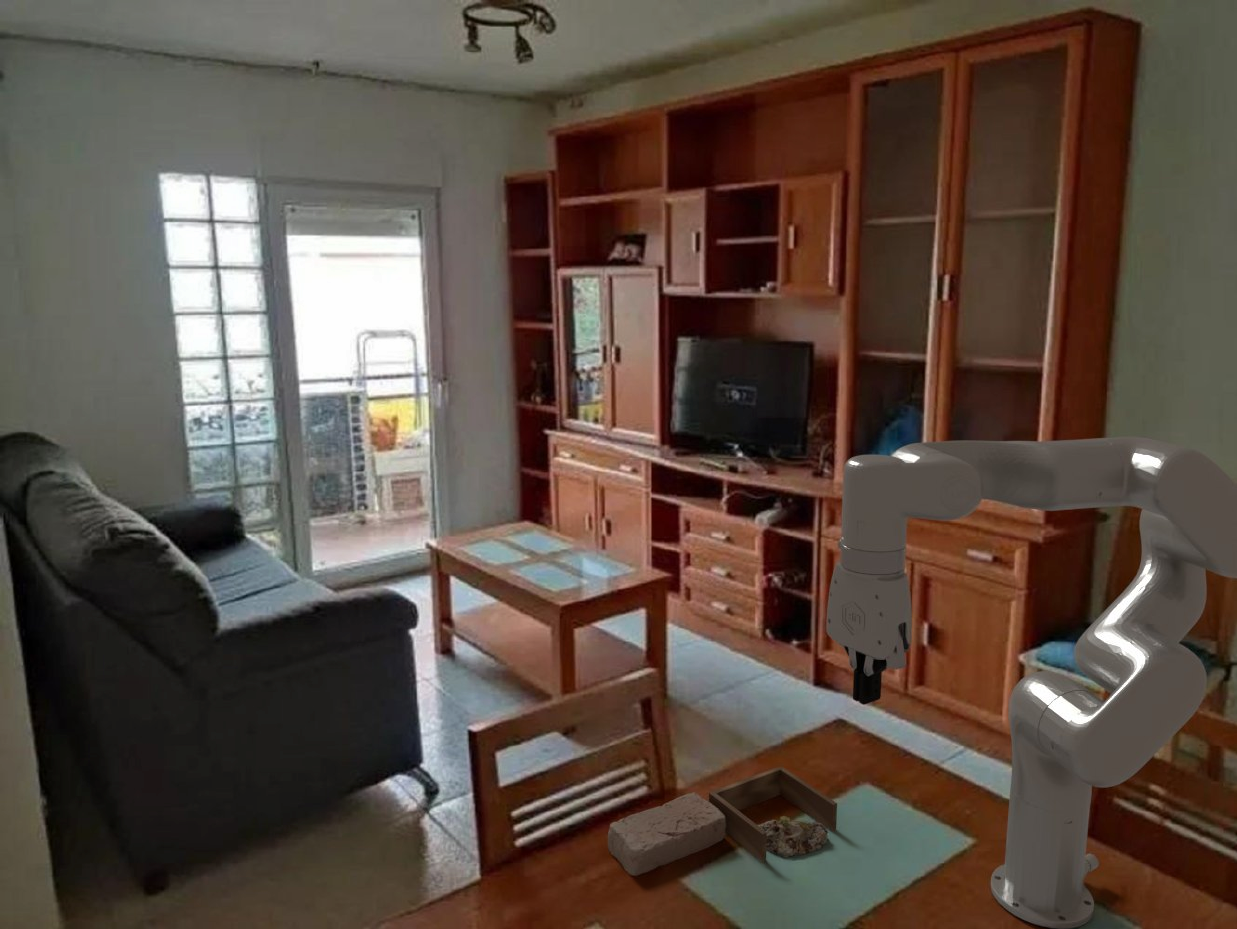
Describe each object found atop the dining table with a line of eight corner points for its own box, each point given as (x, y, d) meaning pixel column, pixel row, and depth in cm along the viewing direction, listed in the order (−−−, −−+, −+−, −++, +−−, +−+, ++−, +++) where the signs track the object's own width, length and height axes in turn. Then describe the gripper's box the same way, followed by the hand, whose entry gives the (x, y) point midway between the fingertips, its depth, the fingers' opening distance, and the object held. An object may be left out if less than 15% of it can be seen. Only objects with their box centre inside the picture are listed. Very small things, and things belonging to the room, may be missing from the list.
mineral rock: (762, 848, 130) (754, 804, 137) (759, 868, 132) (752, 824, 139) (836, 848, 130) (824, 804, 137) (832, 869, 132) (821, 825, 139)
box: (780, 791, 148) (780, 766, 147) (836, 830, 137) (837, 803, 136) (708, 818, 141) (708, 792, 140) (761, 862, 130) (762, 834, 129)
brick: (634, 880, 127) (634, 850, 126) (604, 849, 134) (604, 820, 133) (728, 843, 135) (728, 815, 134) (695, 816, 142) (696, 788, 141)
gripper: (806, 548, 113) (802, 685, 116) (898, 580, 100) (891, 732, 104) (849, 539, 116) (845, 671, 120) (944, 568, 104) (935, 716, 107)
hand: (866, 699), depth 112 cm, fingers closed
